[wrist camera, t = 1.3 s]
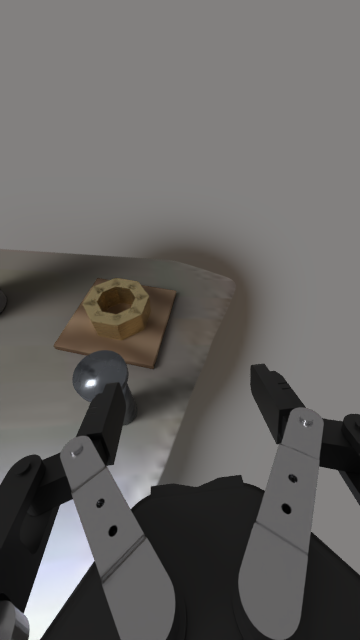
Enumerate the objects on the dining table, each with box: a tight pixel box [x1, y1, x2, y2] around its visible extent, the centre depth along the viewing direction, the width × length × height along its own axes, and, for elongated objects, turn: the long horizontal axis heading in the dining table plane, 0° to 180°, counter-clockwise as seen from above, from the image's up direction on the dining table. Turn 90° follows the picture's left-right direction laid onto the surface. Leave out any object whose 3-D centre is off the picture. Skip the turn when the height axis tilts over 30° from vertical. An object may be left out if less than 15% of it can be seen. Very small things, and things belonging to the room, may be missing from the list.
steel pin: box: [73, 350, 137, 425], centre depth 25 cm, size 5×5×12 cm
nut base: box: [54, 278, 176, 369], centre depth 37 cm, size 16×16×5 cm
